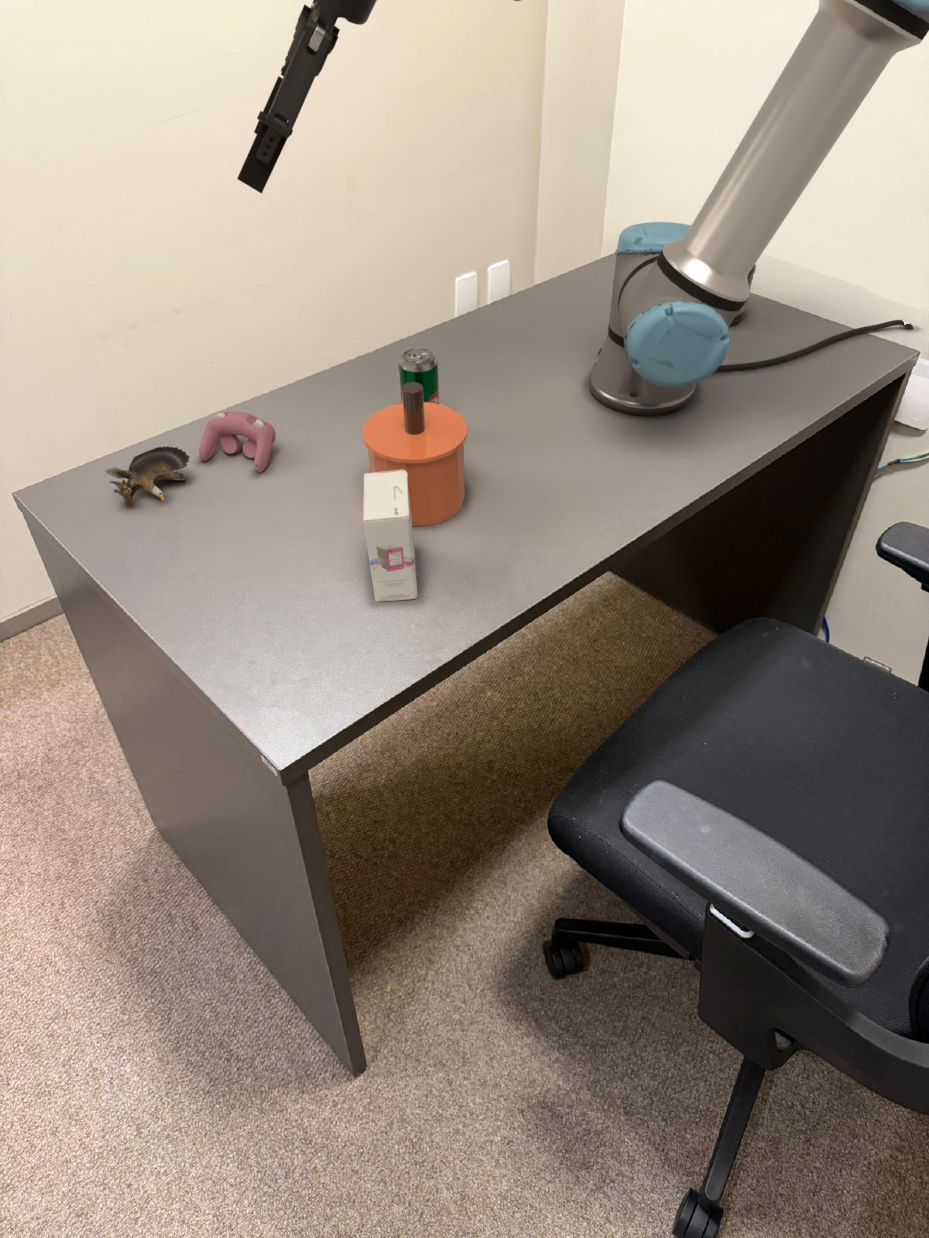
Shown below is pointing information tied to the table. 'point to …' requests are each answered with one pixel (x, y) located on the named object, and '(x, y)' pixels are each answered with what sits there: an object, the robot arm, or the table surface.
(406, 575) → the ink box
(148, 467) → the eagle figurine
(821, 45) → the robot arm
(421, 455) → the pot lid
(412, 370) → the soda can
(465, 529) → the table surface
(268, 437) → the video game controller
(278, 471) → the table surface
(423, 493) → the pot
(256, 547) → the table surface
